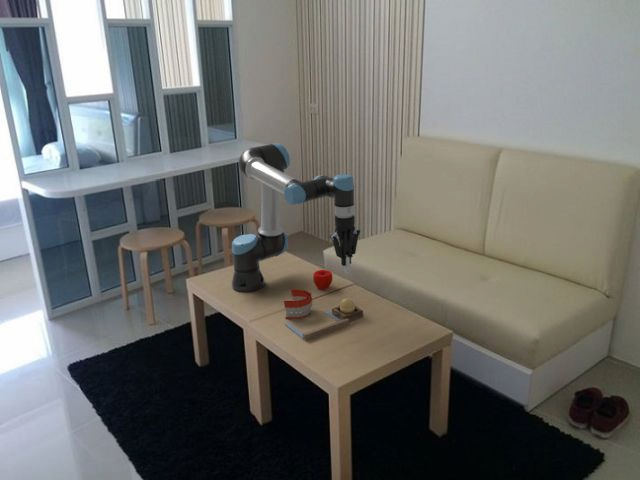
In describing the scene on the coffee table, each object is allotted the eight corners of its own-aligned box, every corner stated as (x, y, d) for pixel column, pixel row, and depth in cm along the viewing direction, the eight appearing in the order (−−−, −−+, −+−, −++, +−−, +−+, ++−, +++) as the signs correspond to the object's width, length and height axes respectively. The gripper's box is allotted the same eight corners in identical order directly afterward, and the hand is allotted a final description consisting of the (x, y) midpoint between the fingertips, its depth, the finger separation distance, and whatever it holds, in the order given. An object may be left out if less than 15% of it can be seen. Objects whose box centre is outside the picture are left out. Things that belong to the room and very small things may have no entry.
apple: (336, 288, 258) (336, 273, 256) (320, 293, 254) (319, 277, 251) (326, 282, 266) (325, 266, 263) (310, 287, 261) (309, 271, 259)
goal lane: (285, 325, 228) (284, 319, 228) (327, 310, 239) (327, 305, 238) (305, 340, 216) (304, 335, 215) (349, 325, 226) (349, 319, 225)
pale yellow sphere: (337, 311, 233) (336, 297, 231) (349, 307, 236) (348, 293, 234) (345, 316, 229) (345, 303, 227) (357, 312, 232) (357, 299, 230)
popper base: (332, 315, 235) (332, 308, 234) (350, 309, 239) (350, 302, 238) (344, 323, 227) (344, 316, 226) (363, 317, 232) (363, 310, 231)
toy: (309, 321, 231) (308, 303, 228) (284, 319, 233) (283, 302, 230) (315, 307, 242) (314, 290, 239) (292, 305, 244) (290, 288, 242)
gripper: (336, 221, 212) (338, 279, 220) (364, 214, 219) (365, 271, 227) (325, 216, 218) (327, 273, 226) (352, 209, 225) (354, 265, 233)
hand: (346, 272), depth 226 cm, fingers closed
